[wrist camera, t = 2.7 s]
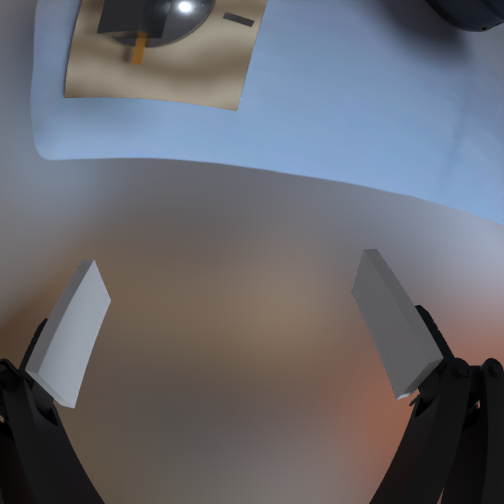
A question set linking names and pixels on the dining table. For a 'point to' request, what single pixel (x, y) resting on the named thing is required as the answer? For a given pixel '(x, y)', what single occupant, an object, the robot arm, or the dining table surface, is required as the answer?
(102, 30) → the dial knob
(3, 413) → the robot arm
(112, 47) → the base plate
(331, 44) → the dining table surface
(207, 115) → the dining table surface
